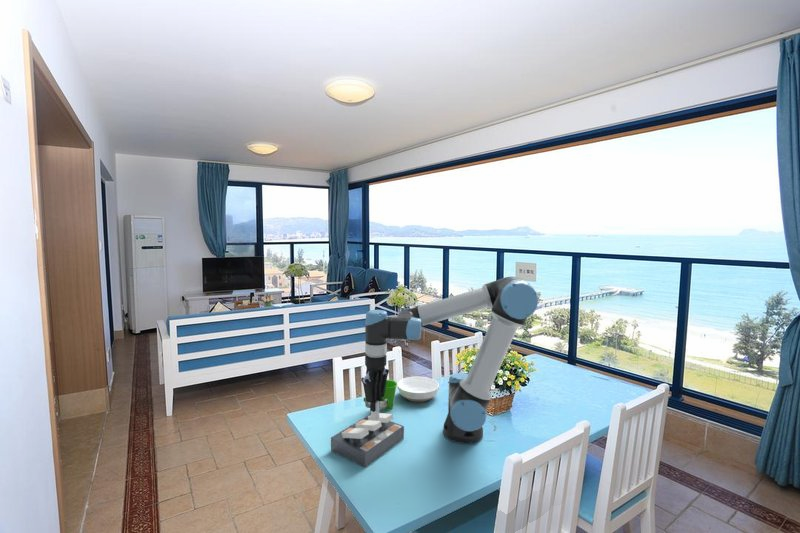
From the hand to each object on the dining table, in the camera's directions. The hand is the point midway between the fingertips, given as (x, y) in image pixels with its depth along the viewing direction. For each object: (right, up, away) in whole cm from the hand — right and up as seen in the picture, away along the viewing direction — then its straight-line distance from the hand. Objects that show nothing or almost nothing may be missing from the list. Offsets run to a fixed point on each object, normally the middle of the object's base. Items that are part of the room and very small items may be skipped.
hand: (375, 418), depth 139 cm
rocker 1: (-7, -4, -3) cm, 8 cm away
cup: (+3, -8, +33) cm, 34 cm away
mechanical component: (-1, -9, +20) cm, 22 cm away
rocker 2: (-3, -3, +2) cm, 5 cm away
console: (-3, -11, +3) cm, 12 cm away
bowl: (+17, -7, +44) cm, 48 cm away
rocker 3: (+2, -3, +8) cm, 9 cm away
